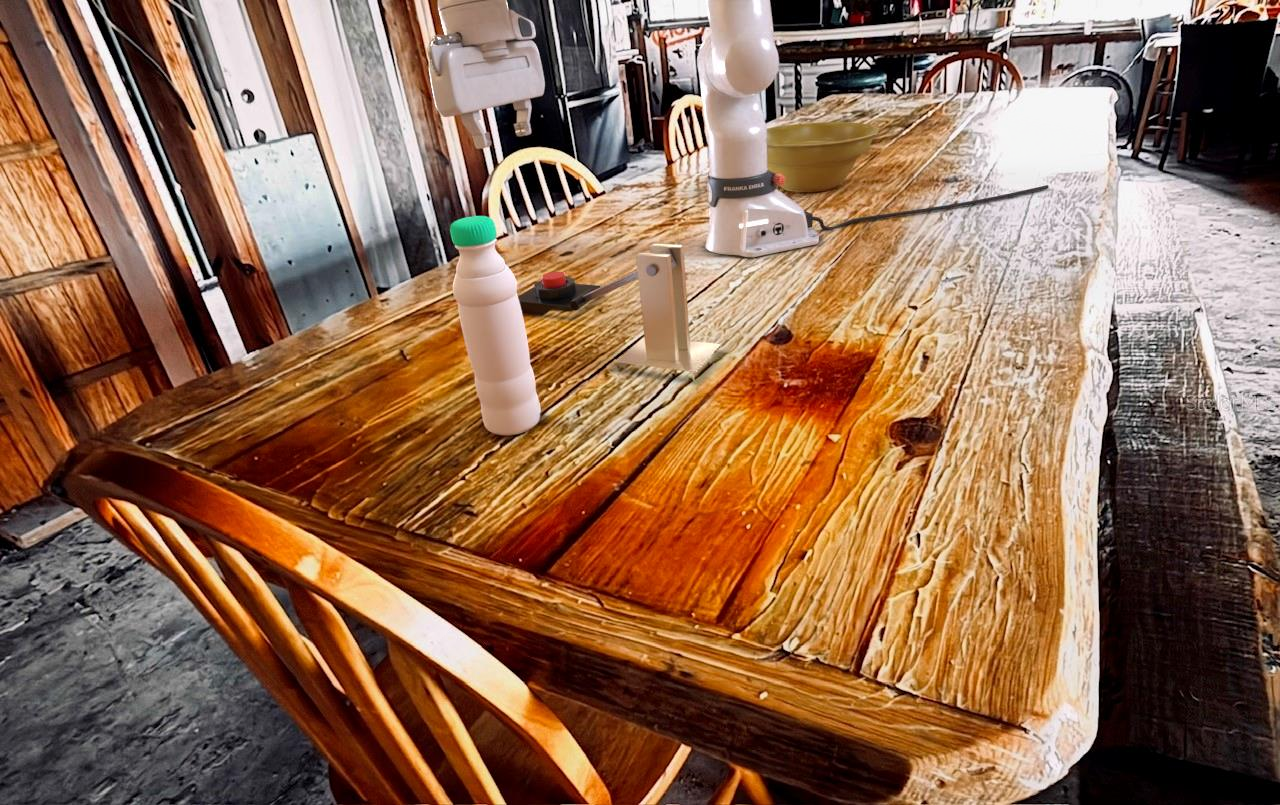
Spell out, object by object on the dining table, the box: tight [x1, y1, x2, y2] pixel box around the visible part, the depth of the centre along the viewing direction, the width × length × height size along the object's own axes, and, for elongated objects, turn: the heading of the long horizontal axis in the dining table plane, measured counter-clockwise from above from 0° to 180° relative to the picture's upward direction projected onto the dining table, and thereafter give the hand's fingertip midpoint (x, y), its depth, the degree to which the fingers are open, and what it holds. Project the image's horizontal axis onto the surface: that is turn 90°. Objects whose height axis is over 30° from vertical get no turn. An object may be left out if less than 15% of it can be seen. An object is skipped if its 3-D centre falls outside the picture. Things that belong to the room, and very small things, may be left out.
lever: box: [570, 249, 677, 312], centre depth 95 cm, size 16×5×2 cm, turn 62°
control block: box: [518, 276, 601, 316], centre depth 121 cm, size 12×10×4 cm
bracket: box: [615, 243, 722, 373], centre depth 94 cm, size 12×9×16 cm
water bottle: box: [449, 215, 542, 436], centre depth 80 cm, size 7×7×25 cm
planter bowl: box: [767, 121, 880, 193], centre depth 179 cm, size 32×32×13 cm
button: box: [541, 271, 566, 288], centre depth 120 cm, size 4×4×2 cm
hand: (504, 141), depth 98 cm, fingers open, 8 cm apart
